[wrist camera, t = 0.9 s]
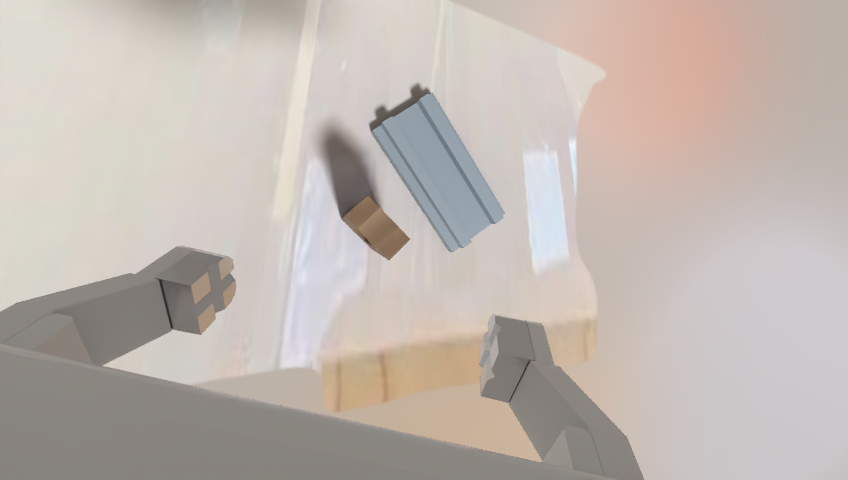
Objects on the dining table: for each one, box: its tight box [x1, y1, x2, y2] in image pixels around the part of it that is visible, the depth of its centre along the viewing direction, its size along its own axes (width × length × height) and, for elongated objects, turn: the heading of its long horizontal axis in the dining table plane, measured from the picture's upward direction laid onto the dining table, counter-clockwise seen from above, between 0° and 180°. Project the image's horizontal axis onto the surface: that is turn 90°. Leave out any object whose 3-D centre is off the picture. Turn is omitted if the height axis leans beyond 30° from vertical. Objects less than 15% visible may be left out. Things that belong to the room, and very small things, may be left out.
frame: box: [341, 196, 410, 260], centre depth 41 cm, size 6×3×14 cm, turn 46°
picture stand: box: [372, 93, 505, 252], centre depth 49 cm, size 20×10×3 cm, turn 36°
